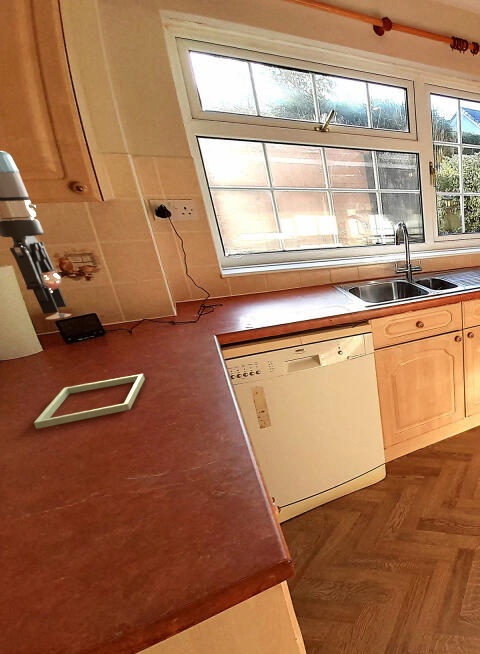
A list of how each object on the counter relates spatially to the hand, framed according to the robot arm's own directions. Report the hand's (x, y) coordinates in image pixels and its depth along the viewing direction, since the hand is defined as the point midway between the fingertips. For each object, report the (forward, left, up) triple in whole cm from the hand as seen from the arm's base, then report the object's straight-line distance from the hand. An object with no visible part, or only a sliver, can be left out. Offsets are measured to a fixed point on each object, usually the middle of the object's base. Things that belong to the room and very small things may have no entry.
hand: (55, 309), depth 112 cm
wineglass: (0, 0, -2) cm, 2 cm away
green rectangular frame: (+9, -26, -19) cm, 34 cm away
